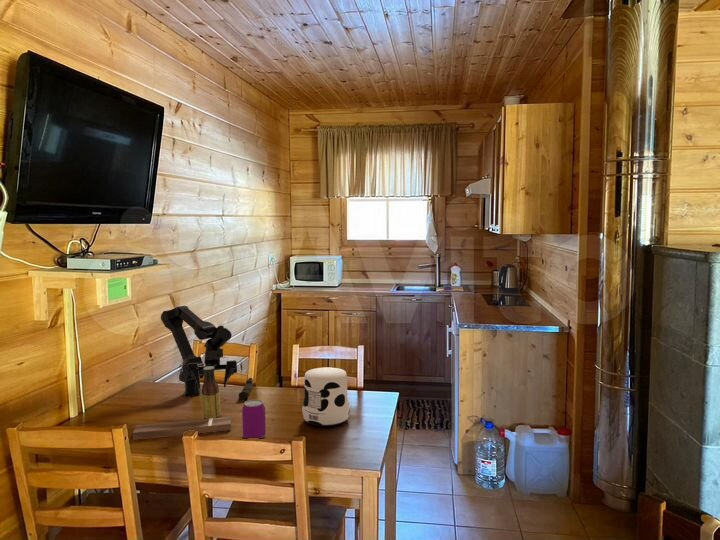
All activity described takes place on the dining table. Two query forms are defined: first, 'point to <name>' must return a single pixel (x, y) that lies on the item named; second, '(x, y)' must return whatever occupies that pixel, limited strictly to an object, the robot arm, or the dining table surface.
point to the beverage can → (254, 419)
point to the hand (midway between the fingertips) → (212, 387)
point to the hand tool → (246, 390)
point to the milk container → (325, 397)
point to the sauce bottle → (210, 394)
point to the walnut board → (181, 427)
